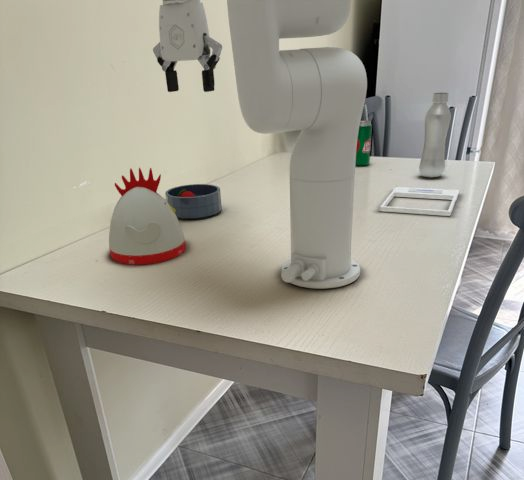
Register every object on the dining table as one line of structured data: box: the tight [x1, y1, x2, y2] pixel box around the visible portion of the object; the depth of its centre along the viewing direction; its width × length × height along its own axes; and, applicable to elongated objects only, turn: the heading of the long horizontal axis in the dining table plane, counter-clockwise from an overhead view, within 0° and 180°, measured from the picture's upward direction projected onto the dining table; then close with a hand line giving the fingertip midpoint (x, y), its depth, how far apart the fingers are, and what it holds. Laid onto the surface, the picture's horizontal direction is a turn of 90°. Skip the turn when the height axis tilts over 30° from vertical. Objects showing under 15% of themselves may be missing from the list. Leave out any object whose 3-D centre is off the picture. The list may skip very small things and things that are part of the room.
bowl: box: [164, 183, 223, 220], centre depth 115 cm, size 12×12×5 cm
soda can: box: [355, 119, 373, 167], centre depth 150 cm, size 5×5×12 cm
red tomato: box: [177, 189, 196, 197], centre depth 116 cm, size 4×4×4 cm
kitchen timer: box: [108, 166, 187, 266], centre depth 92 cm, size 14×14×15 cm
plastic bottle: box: [418, 92, 452, 179], centre depth 131 cm, size 6×7×20 cm
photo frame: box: [379, 186, 460, 217], centre depth 115 cm, size 15×1×18 cm
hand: (190, 91), depth 111 cm, fingers open, 9 cm apart
